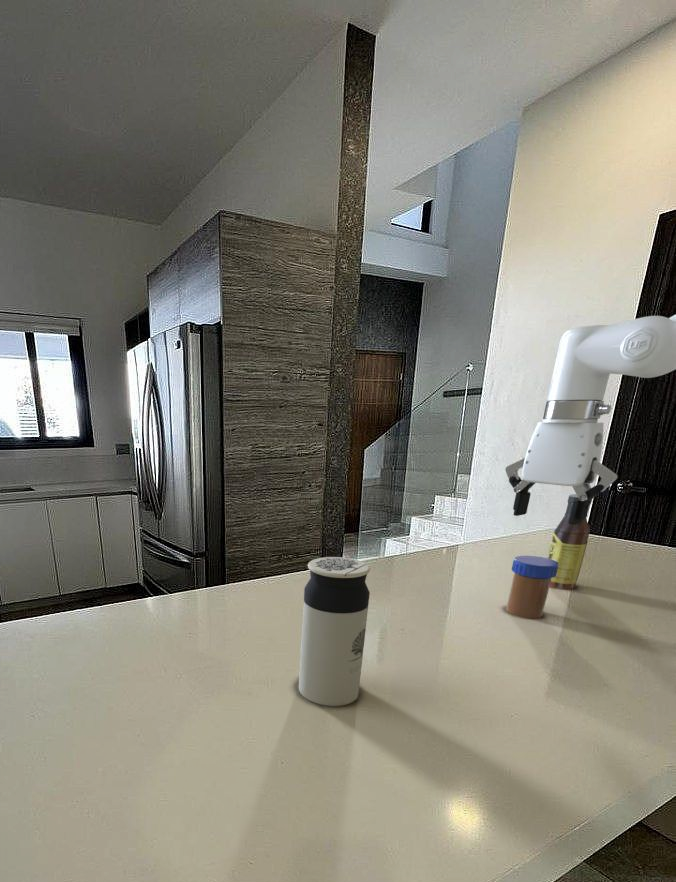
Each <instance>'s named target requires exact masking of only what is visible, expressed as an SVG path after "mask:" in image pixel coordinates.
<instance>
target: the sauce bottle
mask: <svg viewBox="0 0 676 882" xmlns="http://www.w3.org/2000/svg"><path fill="white" fill-rule="evenodd" d="M577 499H578V496H577V494H576V493H574V494H569V495H568V498H567V506H566V510H565V513H564V516H563V517H562V519H561V520H560V522H559V523H558V525H557V526H556V527H555V529H554V530H553V533H552V537H551V542H550V545H549V549H548V554H547V558H548V559H552V560H554V561H556V562H558V570H557V574H556V576H555V577H553V578H552V579H551V583H550V587H549V588H554V589H560V590H572V589H574V588H575V587H576V585H577V582H578V579H579V576H580V572H581V568H582V565H583V561H584V558H585V553H586V550H587V546H588V540H589V535H590V532H591V527H590V523H588V520H587V517H588V513H589V510H590V506H591V504H592V502H593V499H591V500H590V502H589V506H588V510H587V514H586V517H585V519H584V520H582V522H581V523H579V524H575V525H571V524H569V523H568V522H569V518H570V514H571V510H572V506H573V502H574V501H575V500H577Z"/></svg>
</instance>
